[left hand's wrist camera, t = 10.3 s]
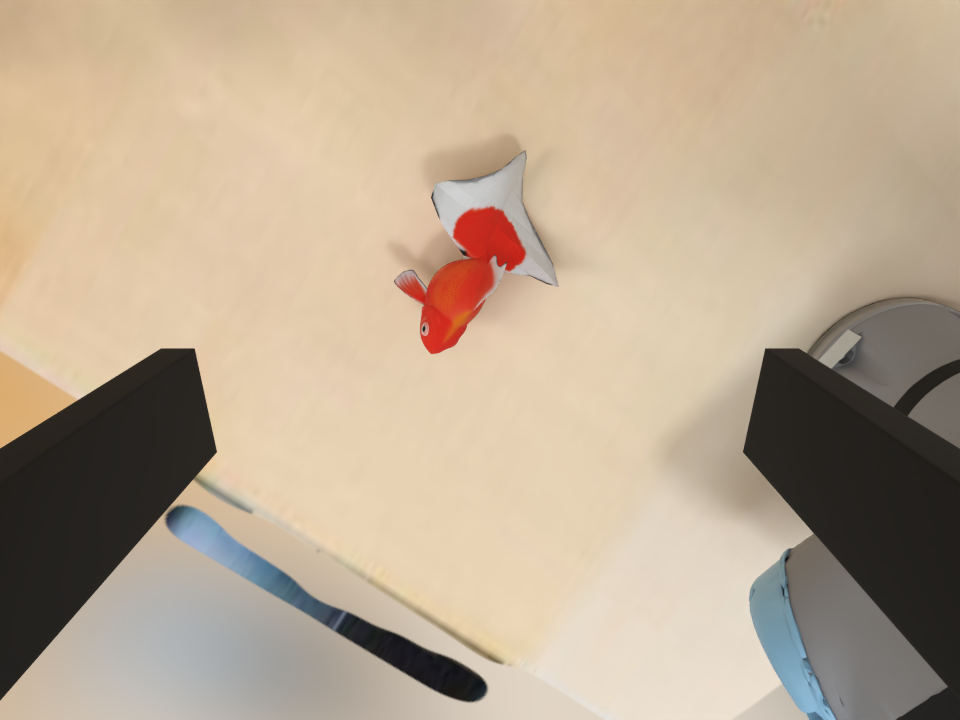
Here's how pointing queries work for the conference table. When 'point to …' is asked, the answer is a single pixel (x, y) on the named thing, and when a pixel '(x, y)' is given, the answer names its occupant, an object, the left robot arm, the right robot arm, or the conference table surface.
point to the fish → (477, 251)
